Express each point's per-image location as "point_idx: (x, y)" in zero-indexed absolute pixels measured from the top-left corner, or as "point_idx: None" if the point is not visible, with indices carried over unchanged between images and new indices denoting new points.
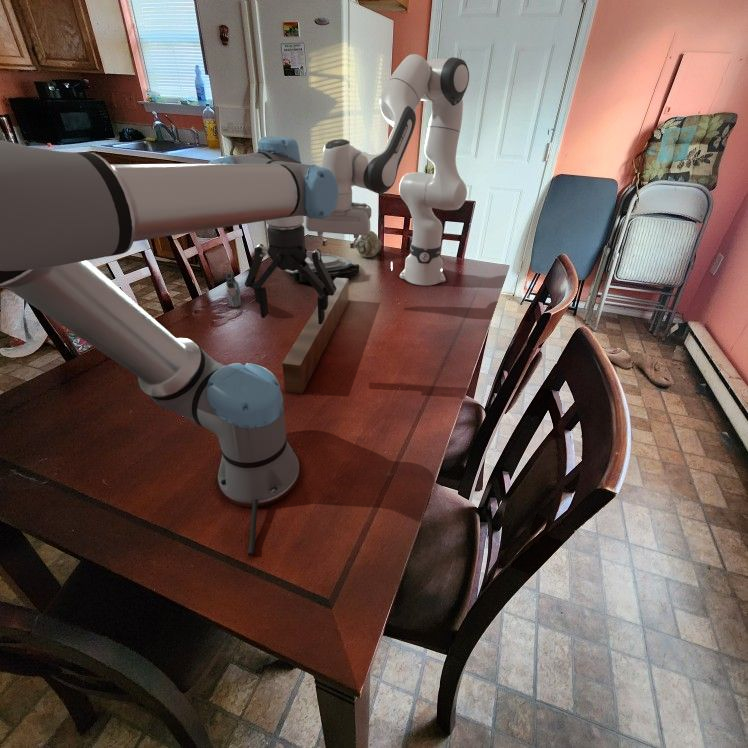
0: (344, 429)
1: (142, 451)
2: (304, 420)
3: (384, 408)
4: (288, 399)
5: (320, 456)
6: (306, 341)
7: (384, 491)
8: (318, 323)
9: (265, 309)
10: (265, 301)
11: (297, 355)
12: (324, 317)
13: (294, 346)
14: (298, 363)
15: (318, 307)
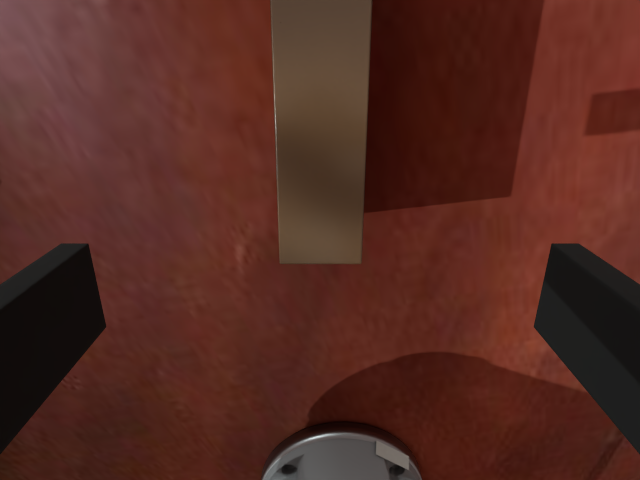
0: (505, 336)
1: (65, 467)
2: (389, 324)
3: (631, 232)
4: None
5: (454, 421)
6: (331, 38)
7: (596, 474)
8: (535, 327)
9: (68, 326)
10: (16, 348)
11: (325, 190)
12: (586, 253)
13: (283, 110)
14: (349, 251)
15: (633, 438)
